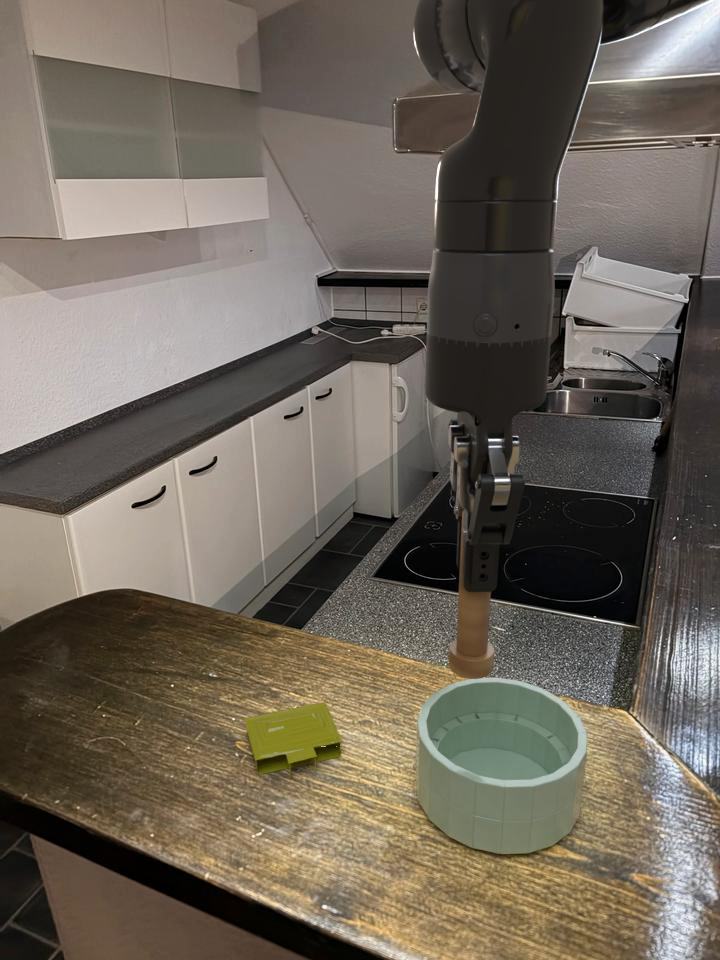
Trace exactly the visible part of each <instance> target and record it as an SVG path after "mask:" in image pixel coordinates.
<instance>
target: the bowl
mask: <svg viewBox="0 0 720 960" xmlns="http://www.w3.org/2000/svg"><path fill="white" fill-rule="evenodd" d="M415 749H416V751H415V752H416V753H415V754H416V755H415V787H416V794H417V800H418V803H419V805H420V806H421V808H422V809H423V811H424V813H425V815H426V816H427V818H428V820H429V821H430V822H432V824H434V825H435V826H436V827H437V828H438V829H439V830H441V832H443V833H444V834H445V835H446V836H447V837H449V838H451V839H453V840H455V841H457V842H459V843H461V844H463V845H465V846H467V847H469V848H471V849H474V850H475V849H476V850H480V851H485V852H490V853H494V854H498V855H499V854H500V855H518V854H519V855H521V854H531V853H535V852H538V851H540V850H543V849H547V848H550V847H552V846H554V845H555V844H557V843H558V842H560V841H561V840H562V839H563V838H565V837H566V836H567V835H569V834H570V833H571V831H572V830H573V828H574V826H575V824H576V823H577V821H578V818H579V816H580V814H581V806H582V798H583V789H584V781H585V773H586V764H587V754H588V732H587V730H586V728H585V725H584V723H583V722H582V719H581V717H580V715H579V714H578V713H577V712H576V711H575V710H574V709H573V708H572V707H571V706H570V705H569V704H568V703H567V702H566V701H565V700H563V699H561V698H560V697H558V696H556V695H555V694H553V693H552V692H550V691H548V690H547V689H545V688H542V687H539V686H537V685H533V684H530V683H527V682H525V681H521V680H516V679H510V678H503V677H497V676H496V677H493V676H492V677H484V678H479V679H468V678H467V679H464V680H460V681H455V682H452V683H450V684H448V685H446V686H444V687H442V688H440V689H438V690H436V691H434V692H433V693H432V694H431V695H430V696H429V697H428V699H427V700H426V701H425V702H424V703H423V704H422V705H421V708H420V711H419V714H418V717H417V719H416V747H415Z"/></svg>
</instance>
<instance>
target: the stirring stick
mask: <svg viewBox="0 0 720 960" xmlns="http://www.w3.org/2000/svg"><path fill="white" fill-rule="evenodd" d="M461 521H462V527H461V551H460V571H459V579H458V598H457V599H458V600H457V603H458V604H457V621H456V622H457V623H456V638H455V639H454V640H452V641H451V642H450V644H449V647H448V667H449V670H450V671H451V672H452V673H453V674H455V675H456V676H458V677H459V678H460V677H461V678H463V679H467V680H468V679H479V678H487V677H488V676H490V675H491V674H492V673H493V671H494V665H495V653H496V651H495V647H494V645H493V644H492V643H491V642H489V632H490V631H489V630H490V615H491V596H492V591H491V592H468V591H466V590H465V588H464V585H463V582H462V580H463V558H464V537H463V535H462V529H464V510H463V512H462V519H461Z"/></svg>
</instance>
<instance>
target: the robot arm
mask: <svg viewBox="0 0 720 960" xmlns="http://www.w3.org/2000/svg"><path fill="white" fill-rule="evenodd" d="M714 1H715V0H417V3H416V5H415V6H416V7H415V10H414V14H413V15H414V16H413V21H412V37H413V43H414V44H413V45H414V49H415V52H416V55H417V57H418V59H419V63H420V64H421V66H422V68H423V69H424V71H425V72H426V73H427V74H428V76H429V77H430V78H431V79H432V80H433V81H434V82H436V83H437V84H438V85H439V86H441V87H443V88H444V89H446V90H448V91H451V92H453V93H457V94H460V95H467V96H476V95H477V96H479V95H480V96H479V100H478V104H477V109H476V113H475V117H474V120H473V123H472V126H471V128H470V130H469V131H468V132H467V134H466V135H465V136H463V137H462V138H460V139H459V140H457V141H456V142H454V143H452V144H451V145H449V146H448V147H446V149H444V151H442V153H441V155H440V156H439V158H438V162H437V165H436V169H435V177H434V195H433V199H434V202H433V233H432V234H433V235H432V246H433V250H432V256H431V257H432V260H431V266H430V273H429V278H428V287H427V305H426V306H427V310H426V313H427V314H426V345H425V346H426V349H425V391H424V392H425V396H426V399H427V401H429V403H431V404H432V405H433V406H435V407H437V408H439V409H441V410H442V409H443V410H445V411H449V412H453V413H457V418H449V419H450V420H449V423H448V424H447V425H448V426H447V429H448V435H447V445H448V447H449V450H450V467H449V481H450V485H451V489H450V497H451V498H452V502H455V505H454V507H453V514H454V515H455V519H456V520H457V535H456V536H457V537H456V538H457V539H456V562H455V564H456V567H457V571H459V572H460V551H461V527H462V512H463V510H464V529H462V535H463V537H464V558H463V580H462V582H463V585H464V588H465V590H466V591H468V592H491V593H492V592H494V591H495V590H496V589H497V587H498V576H499V575H498V574H499V559H500V545H510V544H511V540H512V538H513V533H514V529H515V525H516V521H517V517H518V514H519V509H520V505H521V501H522V498H523V493H524V489H525V487H526V481H525V479H524V475H523V473H520V472H519V473H515V470H516V466H517V464H518V463H519V461H520V447H521V445H520V437H519V436H518V435H513V425H512V424H513V423H512V422H513V418H515V416H517V415H519V414H520V413H522V412H525V413H526V412H527V413H528V412H531V411H534V410H536V409H539V408H540V406H542V405H543V404H544V403H545V401H546V399H547V393H548V379H549V368H550V354H551V344H552V343H551V342H552V328H553V316H554V306H555V289H556V288H555V269H554V268H555V267H554V250H553V248H554V247H555V235H556V222H557V220H556V219H557V209H558V195H559V179H560V173H561V170H562V166H563V164H564V160H565V158H566V154H567V153H568V149H569V147H570V144H571V141H572V138H573V136H574V133H575V129H576V127H577V126H576V125H577V122H578V119H579V116H580V113H581V110H582V109H581V108H582V106H583V103H584V100H585V96H586V93H587V90H588V86H589V84H590V80H591V77H592V73H593V70H594V67H595V64H596V61H597V57H598V53H599V49H600V46H604V45H608V44H611V43H612V44H613V43H617V42H620V41H624V40H627V39H630V38H634V37H635V36H638V35H640V34H643V33H645V32H647V31H649V30H652V29H655V28H656V27H658V26H661V25H664V24H666V23H668V22H671V21H673V20H675V19H677V18H679V17H681V16H684V15H686V14H688V13H690V12H692V11H695V10H697V9H698V8H699V9H700V8H701V7H704V6H706V5H707V4H709V3H711V2H714Z"/></svg>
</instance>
